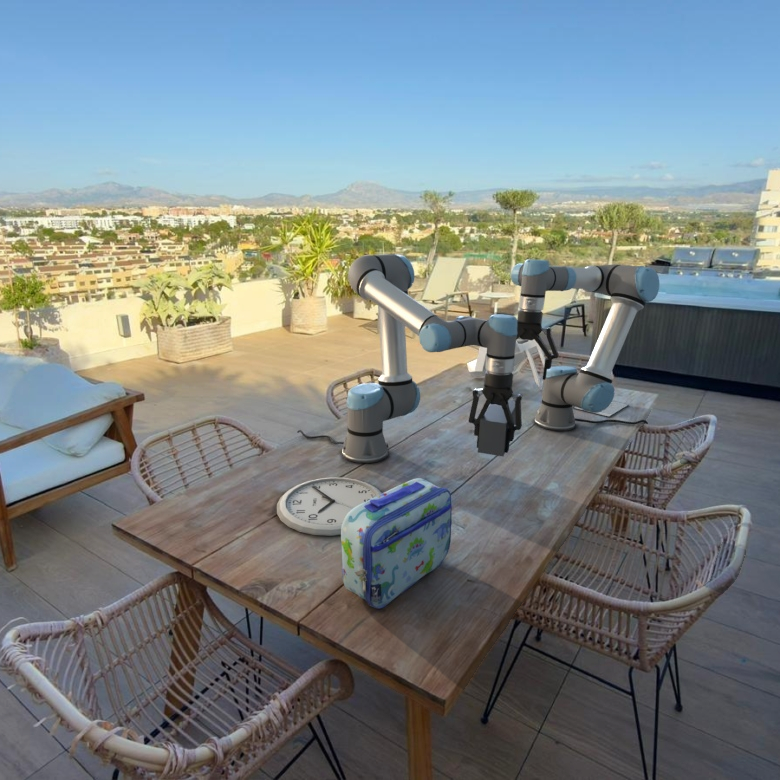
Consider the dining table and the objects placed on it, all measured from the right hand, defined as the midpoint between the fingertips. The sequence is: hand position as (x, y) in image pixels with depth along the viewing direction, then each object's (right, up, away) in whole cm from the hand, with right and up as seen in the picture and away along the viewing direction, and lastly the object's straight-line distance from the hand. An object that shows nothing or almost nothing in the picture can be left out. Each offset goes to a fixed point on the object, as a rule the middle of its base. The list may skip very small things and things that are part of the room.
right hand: (522, 375), depth 170 cm
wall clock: (-59, -36, -27) cm, 74 cm away
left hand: (-14, -21, -20) cm, 32 cm away
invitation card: (+48, -12, +56) cm, 75 cm away
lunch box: (-41, -46, -57) cm, 84 cm away
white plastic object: (+14, -2, +87) cm, 88 cm away
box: (-11, -20, -13) cm, 26 cm away
